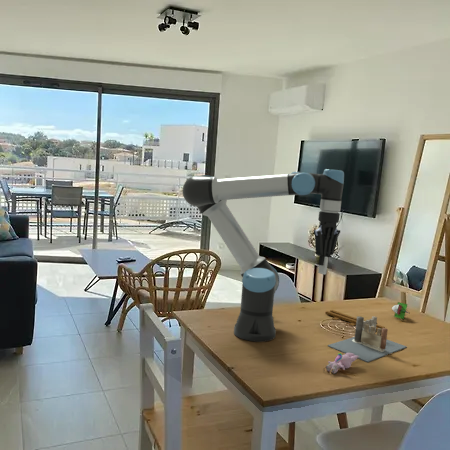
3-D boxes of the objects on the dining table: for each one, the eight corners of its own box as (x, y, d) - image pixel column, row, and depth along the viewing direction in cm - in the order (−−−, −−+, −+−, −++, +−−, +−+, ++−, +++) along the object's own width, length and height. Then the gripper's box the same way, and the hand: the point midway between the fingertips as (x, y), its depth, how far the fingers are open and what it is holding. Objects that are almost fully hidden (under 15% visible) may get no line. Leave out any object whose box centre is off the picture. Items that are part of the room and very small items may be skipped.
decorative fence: (374, 335, 182) (387, 330, 189) (375, 330, 182) (388, 325, 188) (321, 316, 201) (335, 313, 207) (321, 312, 200) (335, 308, 207)
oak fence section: (360, 341, 169) (362, 322, 168) (362, 340, 171) (364, 321, 170) (383, 349, 163) (386, 330, 162) (386, 348, 164) (388, 329, 163)
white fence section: (358, 343, 169) (361, 318, 168) (353, 340, 171) (355, 317, 170) (376, 337, 177) (379, 314, 176) (370, 335, 179) (373, 312, 178)
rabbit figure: (335, 382, 140) (364, 363, 150) (335, 363, 139) (365, 346, 148) (318, 374, 145) (348, 356, 154) (318, 356, 144) (348, 340, 153)
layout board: (367, 362, 153) (367, 361, 153) (327, 346, 165) (327, 344, 165) (406, 347, 169) (406, 346, 169) (367, 333, 181) (367, 332, 181)
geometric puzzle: (398, 308, 212) (395, 296, 207) (413, 312, 207) (410, 300, 203) (391, 320, 208) (388, 308, 204) (406, 324, 203) (403, 312, 199)
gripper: (332, 210, 181) (325, 270, 184) (310, 209, 173) (303, 272, 176) (348, 213, 176) (341, 274, 179) (326, 212, 167) (318, 277, 170)
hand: (322, 273), depth 177 cm, fingers closed
